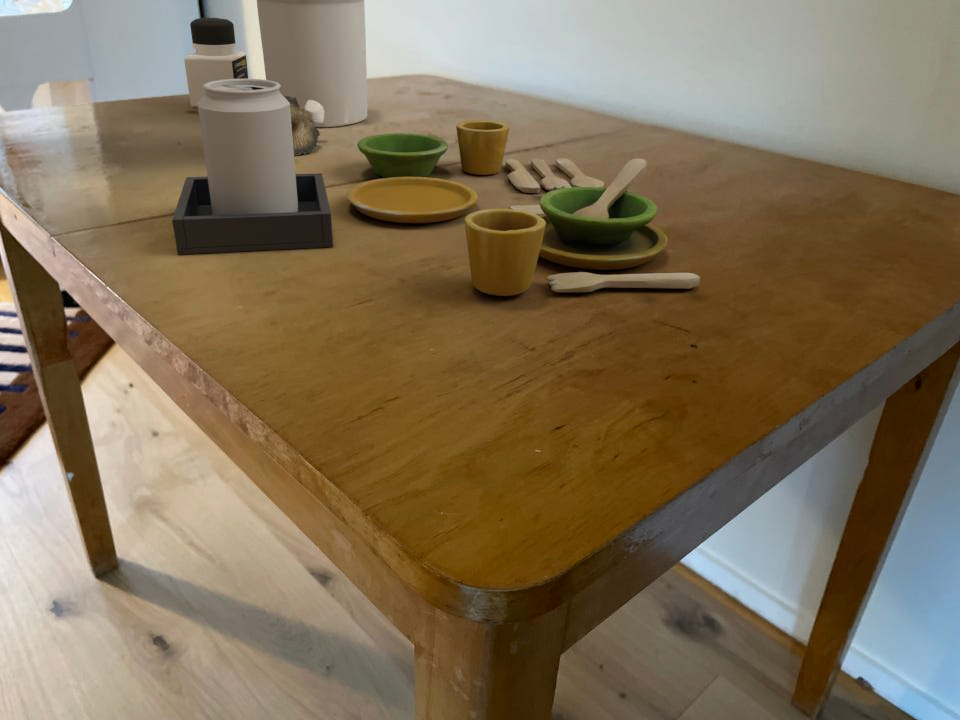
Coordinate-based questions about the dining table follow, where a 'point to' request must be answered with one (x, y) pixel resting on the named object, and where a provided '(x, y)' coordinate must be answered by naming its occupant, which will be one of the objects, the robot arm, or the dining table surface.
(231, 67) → the medicine bottle
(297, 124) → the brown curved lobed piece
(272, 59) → the utensil holder
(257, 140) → the can
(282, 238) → the dark grey tray
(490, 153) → the tableware set
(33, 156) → the dining table surface
